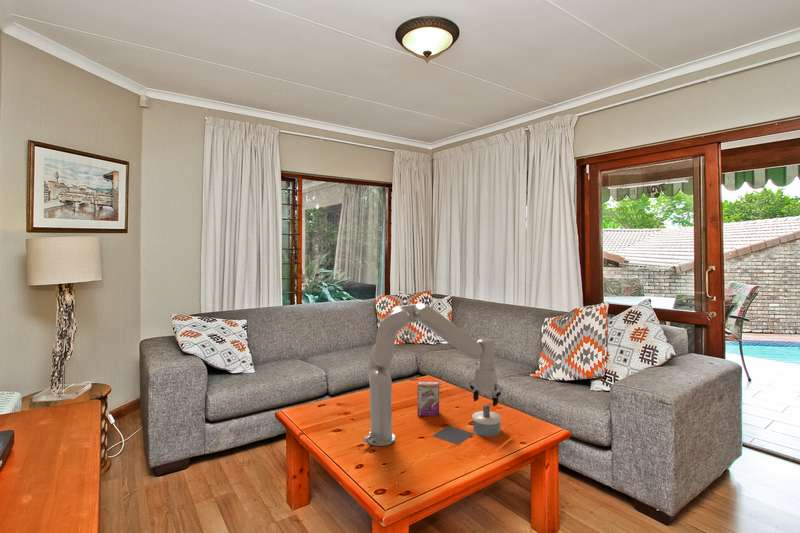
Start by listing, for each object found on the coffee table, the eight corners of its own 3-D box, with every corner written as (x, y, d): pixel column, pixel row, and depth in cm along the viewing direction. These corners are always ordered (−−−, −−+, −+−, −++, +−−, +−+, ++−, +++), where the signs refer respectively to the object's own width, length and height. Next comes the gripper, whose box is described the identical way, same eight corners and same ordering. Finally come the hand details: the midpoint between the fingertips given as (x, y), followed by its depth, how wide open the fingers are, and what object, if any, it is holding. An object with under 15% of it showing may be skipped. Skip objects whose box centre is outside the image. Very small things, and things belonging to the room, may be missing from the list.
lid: (492, 427, 182) (492, 413, 182) (467, 420, 190) (466, 406, 190) (505, 417, 192) (505, 404, 192) (480, 411, 200) (480, 398, 200)
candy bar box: (417, 416, 210) (417, 384, 210) (418, 412, 215) (417, 381, 215) (439, 416, 209) (439, 384, 209) (439, 413, 214) (439, 381, 214)
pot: (492, 440, 183) (492, 426, 183) (468, 432, 190) (468, 420, 190) (504, 430, 192) (504, 418, 192) (481, 424, 200) (481, 411, 199)
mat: (458, 446, 178) (458, 444, 178) (431, 437, 187) (431, 435, 187) (474, 434, 188) (474, 433, 188) (448, 426, 197) (448, 425, 197)
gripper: (465, 364, 193) (464, 400, 193) (499, 371, 182) (499, 409, 182) (473, 361, 198) (473, 396, 199) (507, 367, 187) (506, 405, 188)
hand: (485, 402), depth 191 cm, fingers open, 9 cm apart
